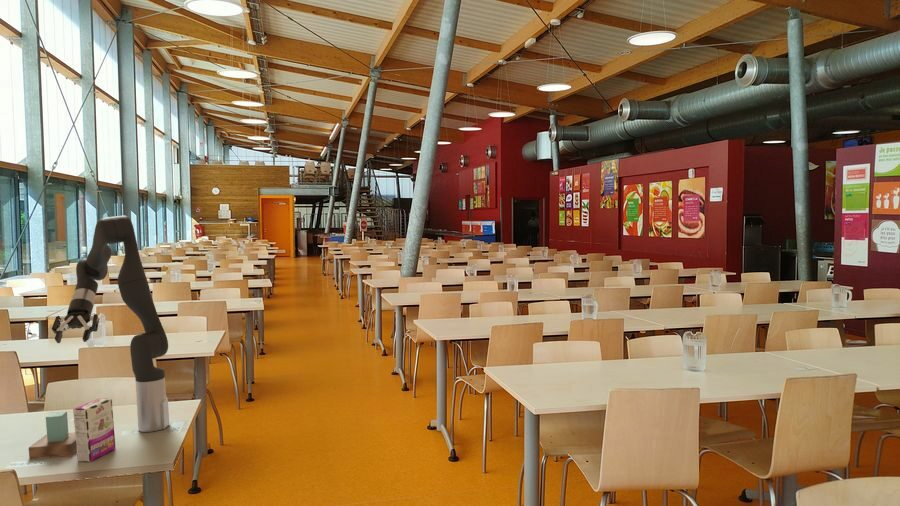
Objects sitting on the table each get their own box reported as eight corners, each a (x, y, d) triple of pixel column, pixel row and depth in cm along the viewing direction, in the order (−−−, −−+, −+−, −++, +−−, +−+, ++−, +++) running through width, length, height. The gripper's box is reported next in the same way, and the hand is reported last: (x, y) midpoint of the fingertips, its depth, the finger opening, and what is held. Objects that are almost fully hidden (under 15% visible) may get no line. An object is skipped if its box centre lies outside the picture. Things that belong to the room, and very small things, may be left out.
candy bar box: (102, 448, 210) (99, 397, 208) (116, 449, 209) (113, 398, 207) (75, 461, 199) (72, 408, 198) (90, 462, 198) (86, 408, 197)
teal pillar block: (68, 436, 212) (66, 411, 211) (63, 440, 207) (61, 415, 207) (53, 437, 211) (51, 412, 210) (47, 442, 206) (45, 417, 206)
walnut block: (86, 443, 216) (85, 431, 216) (71, 456, 204) (70, 444, 204) (46, 446, 214) (45, 434, 214) (29, 460, 202) (28, 447, 202)
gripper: (57, 298, 236) (44, 336, 225) (99, 296, 238) (89, 333, 228) (64, 311, 242) (52, 348, 231) (106, 309, 244) (96, 346, 233)
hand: (71, 341), depth 229 cm, fingers open, 8 cm apart
